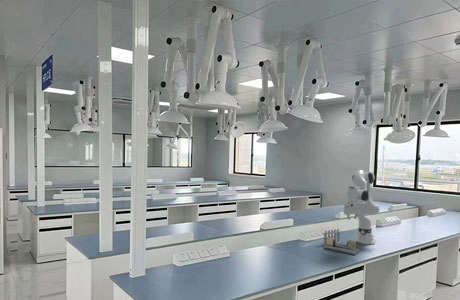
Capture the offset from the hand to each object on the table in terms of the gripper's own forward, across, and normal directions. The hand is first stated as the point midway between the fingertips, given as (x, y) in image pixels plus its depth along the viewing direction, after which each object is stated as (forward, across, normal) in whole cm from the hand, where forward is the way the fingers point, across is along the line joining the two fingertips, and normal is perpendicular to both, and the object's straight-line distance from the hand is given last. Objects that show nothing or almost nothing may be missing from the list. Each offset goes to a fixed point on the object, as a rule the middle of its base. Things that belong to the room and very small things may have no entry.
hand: (352, 219), depth 289 cm
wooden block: (+28, 0, 0) cm, 28 cm away
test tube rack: (+28, -1, -23) cm, 36 cm away
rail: (+28, +11, -3) cm, 30 cm away
